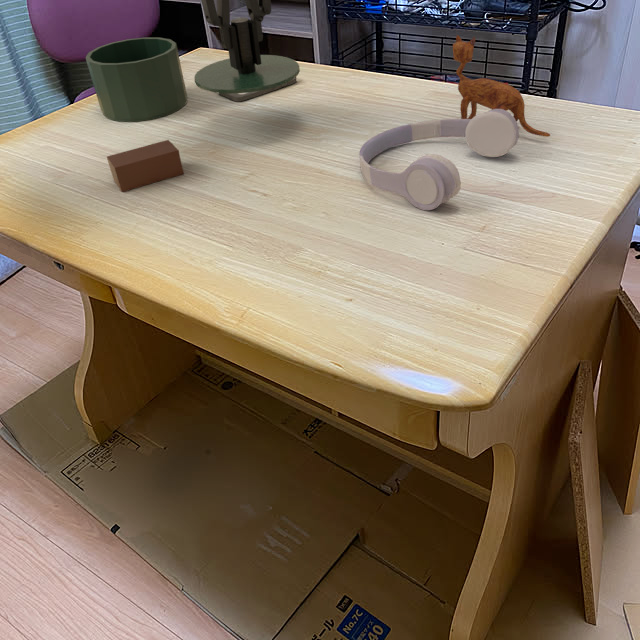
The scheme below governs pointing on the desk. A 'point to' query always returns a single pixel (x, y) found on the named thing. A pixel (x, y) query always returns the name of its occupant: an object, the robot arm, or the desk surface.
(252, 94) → the smartphone
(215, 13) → the robot arm
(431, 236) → the desk surface
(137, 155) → the chocolate bar
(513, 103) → the cat figurine
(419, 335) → the desk surface
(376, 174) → the headphones
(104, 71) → the trash tin
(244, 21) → the tin lid
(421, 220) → the desk surface
